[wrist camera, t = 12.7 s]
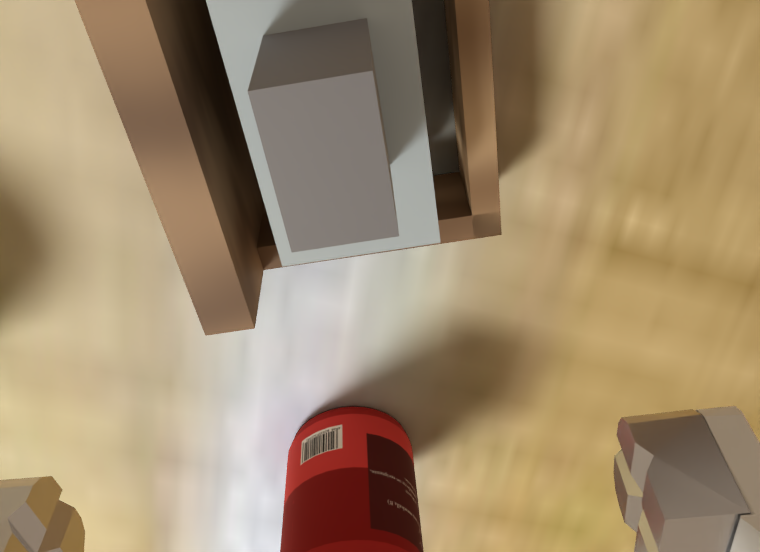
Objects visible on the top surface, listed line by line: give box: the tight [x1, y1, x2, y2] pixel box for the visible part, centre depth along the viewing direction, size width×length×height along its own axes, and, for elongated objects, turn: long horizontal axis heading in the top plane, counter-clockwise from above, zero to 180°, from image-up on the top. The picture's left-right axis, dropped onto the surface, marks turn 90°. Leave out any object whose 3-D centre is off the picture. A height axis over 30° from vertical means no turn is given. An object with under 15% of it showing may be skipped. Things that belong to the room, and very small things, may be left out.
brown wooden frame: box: [75, 0, 501, 335], centre depth 26 cm, size 18×13×8 cm
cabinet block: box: [206, 0, 441, 267], centre depth 24 cm, size 6×12×12 cm, turn 9°
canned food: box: [280, 407, 423, 552], centre depth 40 cm, size 8×8×11 cm
